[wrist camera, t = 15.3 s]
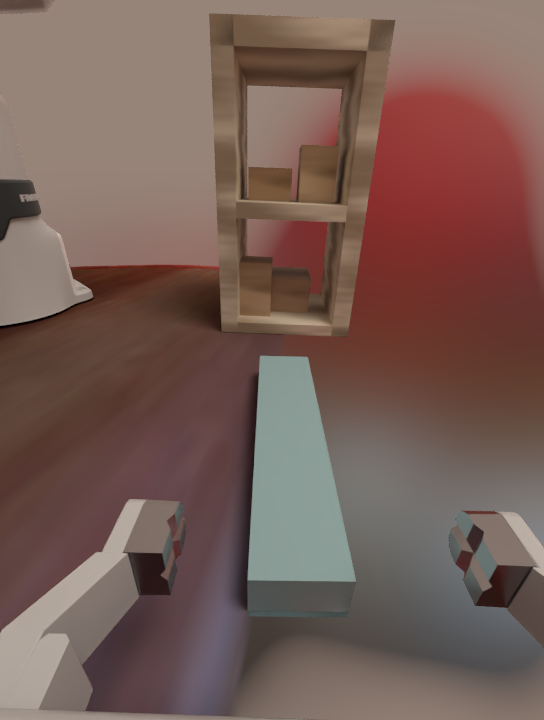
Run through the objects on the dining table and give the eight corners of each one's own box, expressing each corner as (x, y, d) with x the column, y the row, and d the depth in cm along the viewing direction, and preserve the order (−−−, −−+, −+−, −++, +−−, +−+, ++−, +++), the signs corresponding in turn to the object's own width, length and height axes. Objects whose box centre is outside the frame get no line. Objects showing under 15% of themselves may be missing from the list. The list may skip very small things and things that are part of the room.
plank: (259, 381, 29) (260, 355, 28) (305, 382, 29) (307, 357, 28) (247, 616, 13) (247, 580, 12) (346, 617, 14) (356, 581, 12)
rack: (234, 298, 48) (230, 63, 36) (332, 302, 48) (361, 68, 36) (221, 331, 37) (209, 13, 25) (347, 336, 37) (395, 20, 25)
